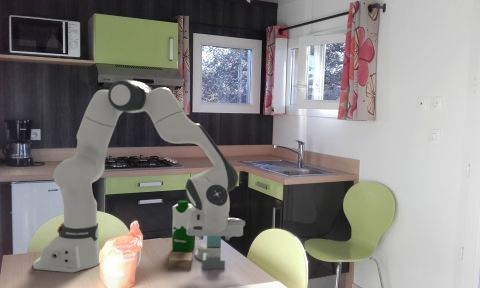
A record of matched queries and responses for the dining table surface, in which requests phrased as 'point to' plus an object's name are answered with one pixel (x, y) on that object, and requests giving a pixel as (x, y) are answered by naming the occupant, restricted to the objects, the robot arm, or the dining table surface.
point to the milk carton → (182, 227)
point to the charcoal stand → (213, 262)
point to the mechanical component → (201, 251)
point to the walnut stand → (180, 260)
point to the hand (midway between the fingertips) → (214, 238)
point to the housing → (213, 247)
